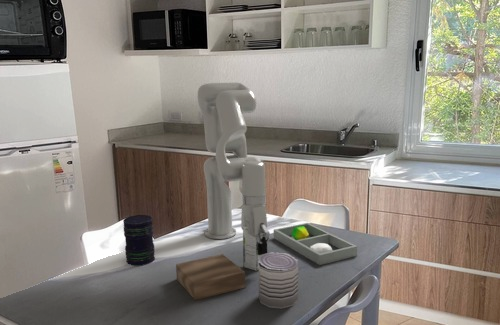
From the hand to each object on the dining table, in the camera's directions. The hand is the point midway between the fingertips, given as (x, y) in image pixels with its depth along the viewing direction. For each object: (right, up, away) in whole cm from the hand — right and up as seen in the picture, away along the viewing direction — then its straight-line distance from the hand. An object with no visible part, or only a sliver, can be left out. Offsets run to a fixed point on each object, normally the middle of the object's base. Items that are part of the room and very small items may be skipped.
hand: (255, 249), depth 152 cm
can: (+6, -10, -21) cm, 24 cm away
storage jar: (-40, -6, +9) cm, 41 cm away
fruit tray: (+22, -2, +18) cm, 28 cm away
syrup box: (0, -6, +1) cm, 6 cm away
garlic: (+23, -4, +11) cm, 26 cm away
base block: (-14, -8, -10) cm, 19 cm away
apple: (+18, -2, +23) cm, 29 cm away
